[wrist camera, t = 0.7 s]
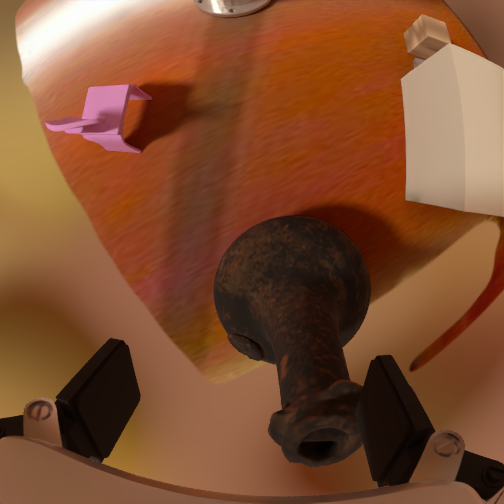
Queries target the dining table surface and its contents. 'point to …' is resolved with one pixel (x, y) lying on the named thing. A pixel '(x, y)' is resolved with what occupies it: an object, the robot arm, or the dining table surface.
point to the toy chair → (103, 116)
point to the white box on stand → (455, 132)
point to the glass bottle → (299, 327)
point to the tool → (426, 38)
